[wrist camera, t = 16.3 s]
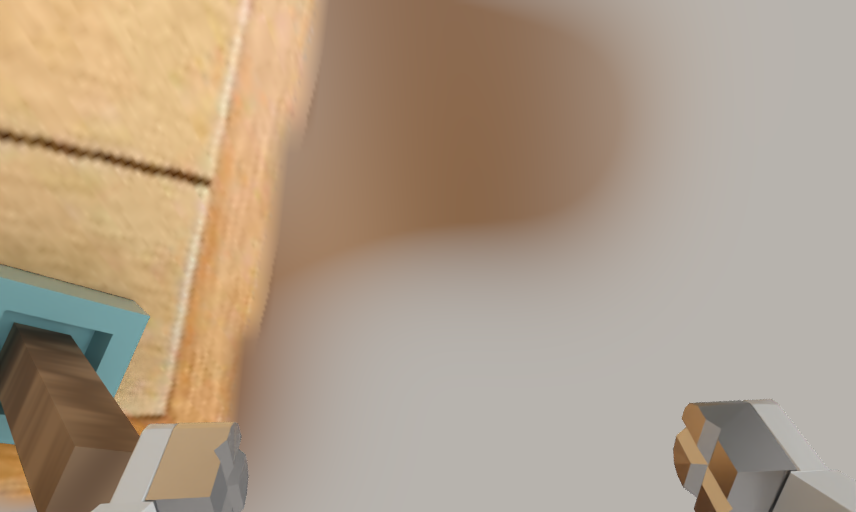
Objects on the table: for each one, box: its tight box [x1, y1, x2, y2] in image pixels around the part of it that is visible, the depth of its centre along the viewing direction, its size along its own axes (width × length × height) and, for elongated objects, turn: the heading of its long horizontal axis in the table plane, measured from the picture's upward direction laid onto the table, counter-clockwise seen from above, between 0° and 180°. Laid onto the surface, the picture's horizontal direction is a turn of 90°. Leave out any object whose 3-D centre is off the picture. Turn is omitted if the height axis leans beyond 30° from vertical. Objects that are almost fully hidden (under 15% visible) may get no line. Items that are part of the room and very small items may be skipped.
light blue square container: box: [0, 264, 150, 444], centre depth 40 cm, size 10×10×4 cm
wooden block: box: [0, 322, 140, 512], centre depth 34 cm, size 4×4×18 cm
